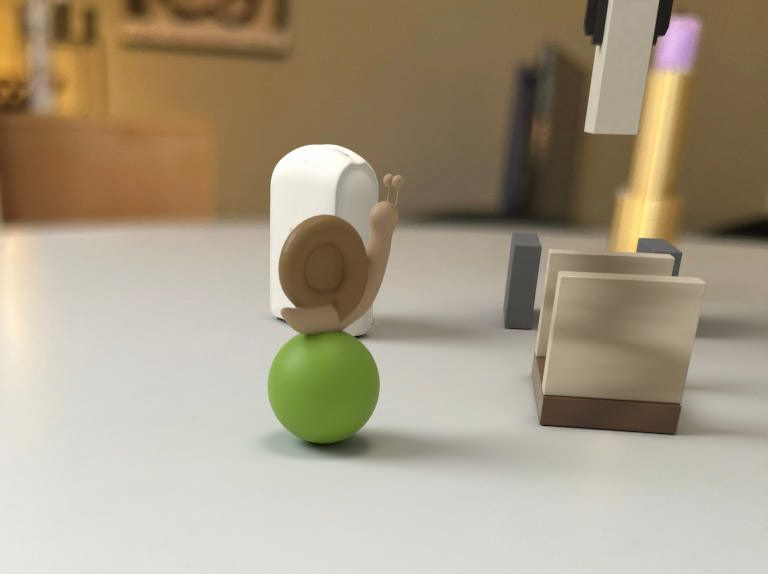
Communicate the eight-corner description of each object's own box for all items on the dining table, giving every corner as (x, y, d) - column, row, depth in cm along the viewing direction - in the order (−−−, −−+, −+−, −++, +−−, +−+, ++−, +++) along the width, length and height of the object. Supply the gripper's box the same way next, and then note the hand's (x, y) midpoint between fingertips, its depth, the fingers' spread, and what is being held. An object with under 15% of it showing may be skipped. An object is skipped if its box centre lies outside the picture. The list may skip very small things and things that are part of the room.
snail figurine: (414, 445, 49) (436, 178, 44) (305, 464, 46) (314, 179, 40) (350, 418, 53) (363, 170, 48) (246, 434, 50) (247, 171, 44)
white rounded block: (261, 316, 79) (263, 141, 73) (308, 312, 80) (313, 141, 75) (329, 341, 71) (336, 147, 65) (379, 336, 73) (391, 147, 67)
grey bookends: (649, 316, 83) (664, 238, 80) (666, 337, 75) (683, 252, 72) (503, 308, 84) (512, 232, 82) (504, 327, 77) (514, 244, 74)
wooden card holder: (645, 380, 62) (669, 253, 59) (676, 434, 52) (708, 283, 48) (531, 373, 63) (548, 248, 60) (539, 424, 53) (560, 276, 49)
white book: (623, 132, 77) (648, -23, 72) (637, 134, 70) (665, -37, 65) (584, 131, 77) (605, -23, 72) (593, 133, 70) (617, -37, 65)
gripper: (560, -290, 60) (523, 41, 69) (806, -300, 58) (738, 43, 66) (553, -251, 67) (520, 47, 75) (774, -259, 65) (716, 49, 73)
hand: (623, 44), depth 71 cm, fingers closed on white book, 3 cm apart
